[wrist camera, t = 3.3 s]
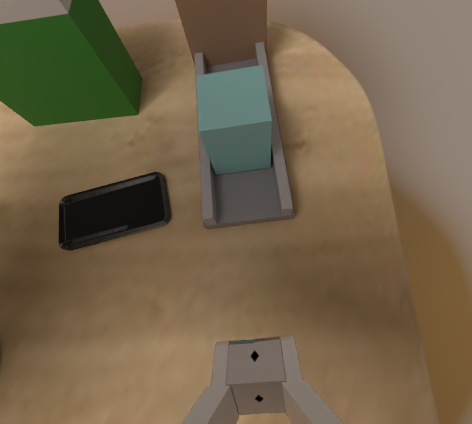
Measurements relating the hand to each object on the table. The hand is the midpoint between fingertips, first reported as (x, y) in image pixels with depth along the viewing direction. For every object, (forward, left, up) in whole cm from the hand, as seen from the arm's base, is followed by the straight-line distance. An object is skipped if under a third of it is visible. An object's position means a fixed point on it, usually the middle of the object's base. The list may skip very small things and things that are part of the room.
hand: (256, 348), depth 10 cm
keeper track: (0, +26, -20) cm, 33 cm away
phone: (-18, +15, -20) cm, 31 cm away
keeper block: (0, +21, -18) cm, 27 cm away
